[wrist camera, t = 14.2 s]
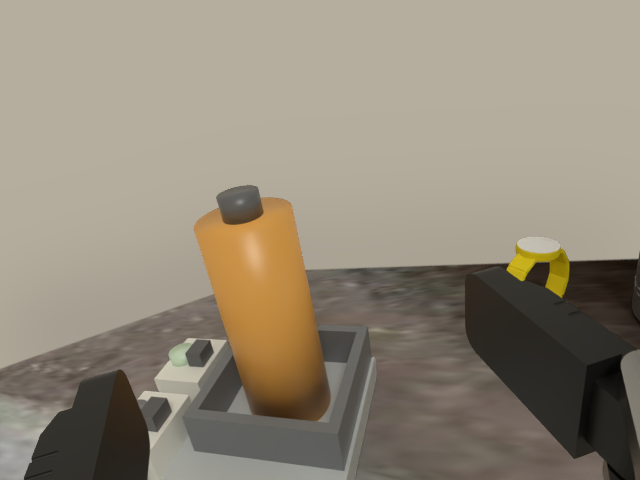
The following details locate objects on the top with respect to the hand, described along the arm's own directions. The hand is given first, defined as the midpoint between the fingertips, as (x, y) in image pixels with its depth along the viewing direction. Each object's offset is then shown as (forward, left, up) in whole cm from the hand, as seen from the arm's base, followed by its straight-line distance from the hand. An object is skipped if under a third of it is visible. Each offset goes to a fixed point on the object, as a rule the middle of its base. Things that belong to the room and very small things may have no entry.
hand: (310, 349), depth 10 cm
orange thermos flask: (+6, -11, -13) cm, 18 cm away
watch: (-8, -23, -15) cm, 28 cm away
